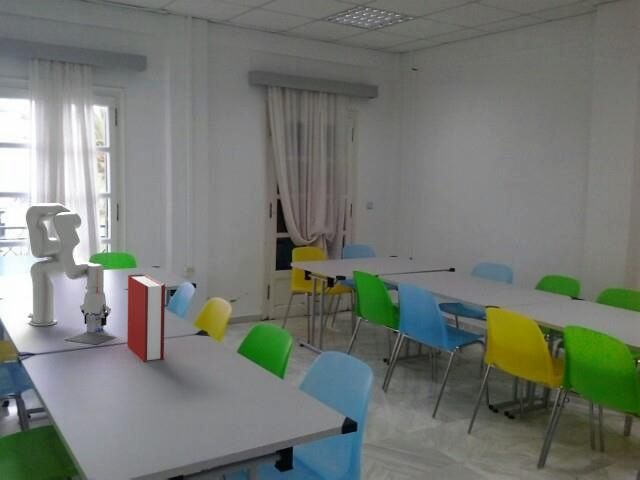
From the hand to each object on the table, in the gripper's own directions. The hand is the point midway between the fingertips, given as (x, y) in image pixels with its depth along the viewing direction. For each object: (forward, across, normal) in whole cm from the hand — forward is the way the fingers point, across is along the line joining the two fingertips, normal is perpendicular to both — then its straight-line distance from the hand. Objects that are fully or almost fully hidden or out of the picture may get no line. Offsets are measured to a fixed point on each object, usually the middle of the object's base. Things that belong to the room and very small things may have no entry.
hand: (95, 324), depth 291 cm
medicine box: (+3, 0, 0) cm, 3 cm away
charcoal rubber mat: (+3, +8, -13) cm, 15 cm away
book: (+4, +42, -20) cm, 46 cm away
